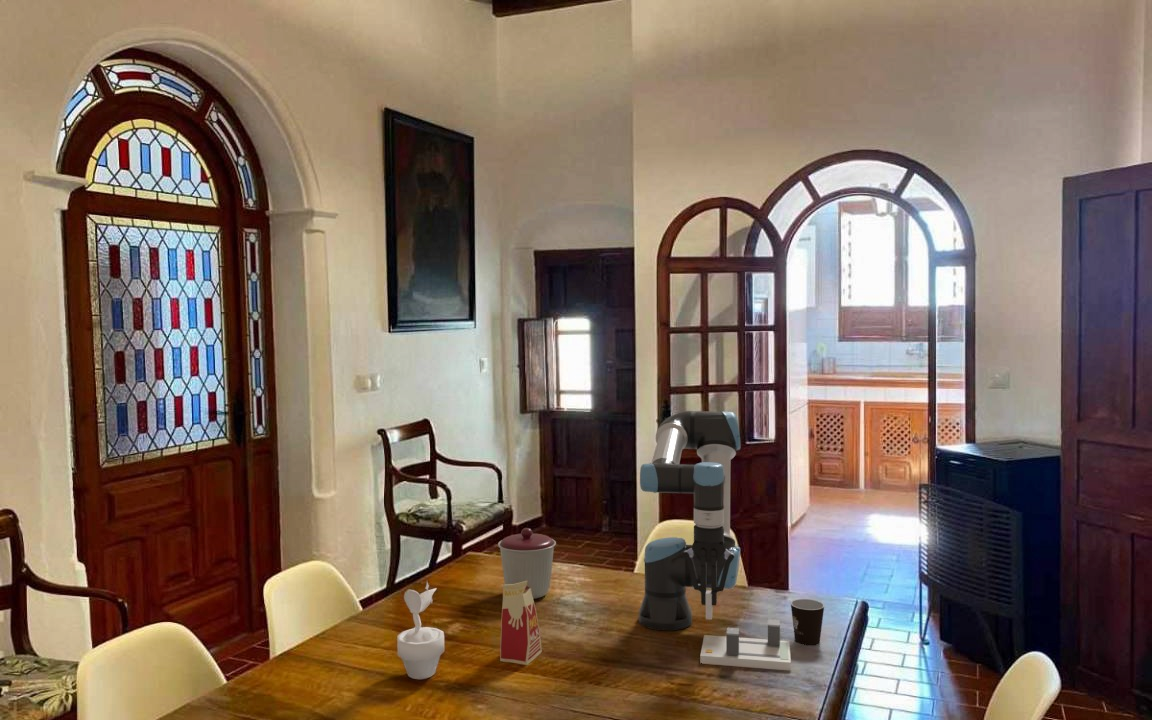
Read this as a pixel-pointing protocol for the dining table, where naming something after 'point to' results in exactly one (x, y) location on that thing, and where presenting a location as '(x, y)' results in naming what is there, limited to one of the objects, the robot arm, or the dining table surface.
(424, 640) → the potted plant
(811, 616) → the coffee mug
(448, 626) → the dining table surface
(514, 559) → the canister
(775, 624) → the block
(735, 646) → the block
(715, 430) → the robot arm
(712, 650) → the panel
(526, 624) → the milk carton
